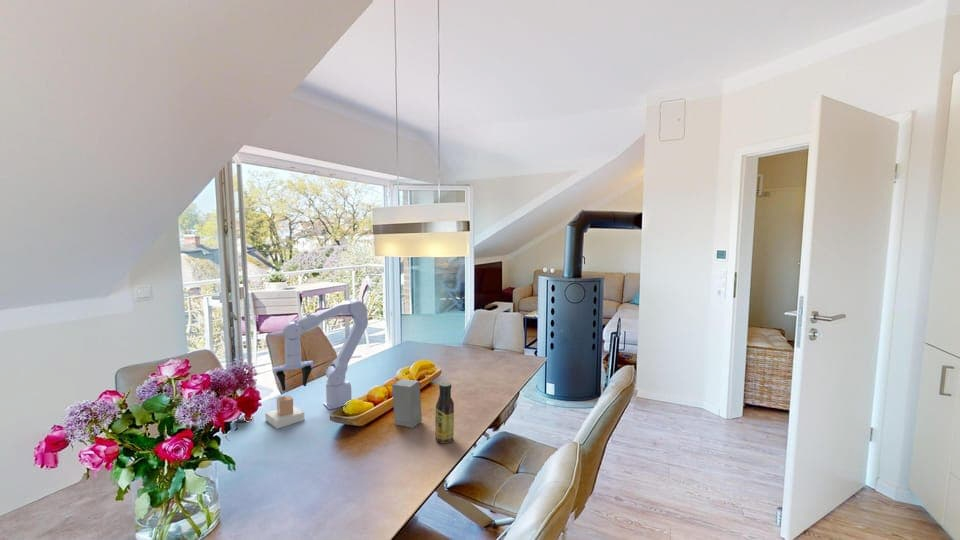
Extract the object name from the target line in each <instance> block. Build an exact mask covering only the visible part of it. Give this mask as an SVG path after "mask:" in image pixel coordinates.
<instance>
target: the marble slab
mask: <svg viewBox="0 0 960 540" xmlns="http://www.w3.org/2000/svg"><path fill="white" fill-rule="evenodd" d="M302 421H305V411H303V410H301V409H300V408H299V407H297V406H296V405H295V404H293V414H289V415H284V416H279V414H278V413H277V408H276V409H273V410H271V411H267V412H265V422H266V423H267V422H268V424H270V425H271V426H272V427H274V428H275V429H276V430H278V429H280V428H284V427H286V426H289V425H292V424H296V423H299V422H302Z"/></svg>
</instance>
